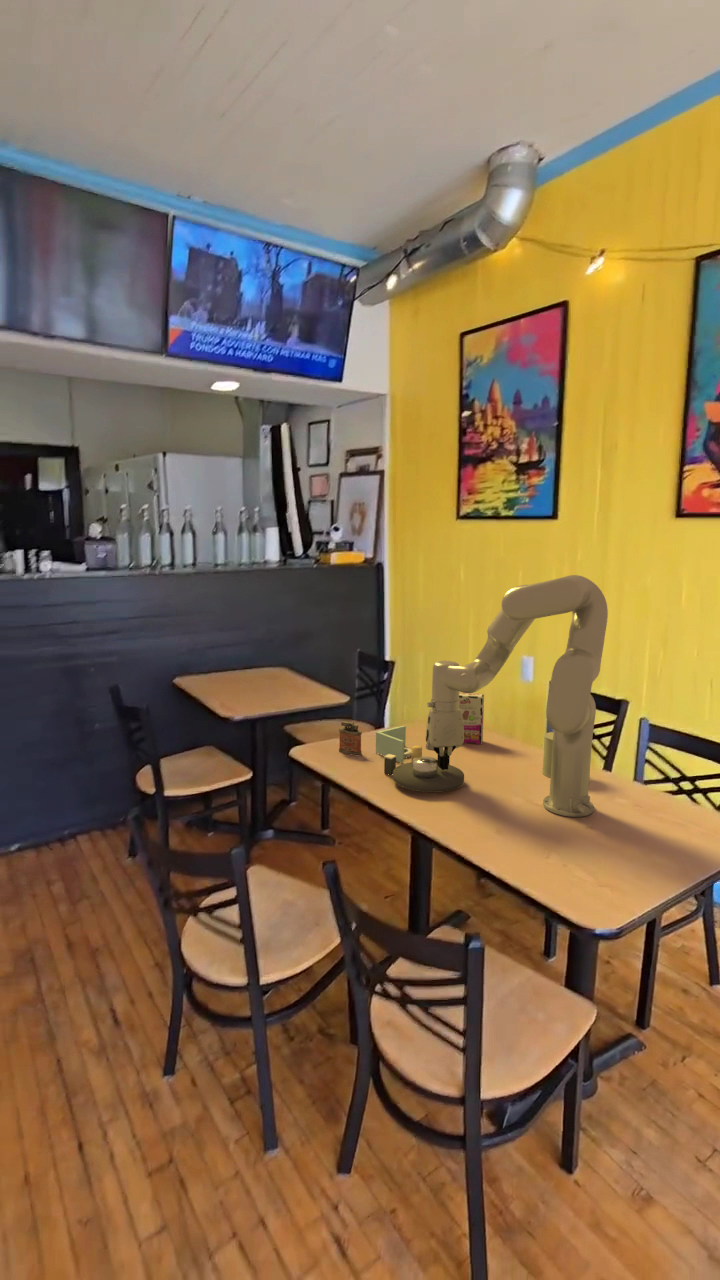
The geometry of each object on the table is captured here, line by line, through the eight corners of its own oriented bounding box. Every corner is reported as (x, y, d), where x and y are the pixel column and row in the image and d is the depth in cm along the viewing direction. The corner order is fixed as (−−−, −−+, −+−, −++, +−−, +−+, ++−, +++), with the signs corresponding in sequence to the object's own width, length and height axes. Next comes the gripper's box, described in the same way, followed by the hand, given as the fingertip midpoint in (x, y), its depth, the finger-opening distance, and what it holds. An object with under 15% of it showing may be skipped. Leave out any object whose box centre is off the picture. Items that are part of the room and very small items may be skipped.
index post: (396, 773, 201) (396, 755, 200) (391, 775, 199) (391, 758, 198) (388, 771, 202) (389, 753, 201) (383, 773, 200) (384, 756, 199)
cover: (441, 777, 190) (442, 762, 189) (419, 780, 187) (419, 765, 187) (430, 768, 196) (430, 754, 195) (408, 771, 194) (408, 757, 193)
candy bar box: (482, 740, 232) (484, 693, 230) (481, 745, 228) (483, 697, 225) (450, 737, 235) (451, 691, 233) (447, 741, 231) (449, 694, 228)
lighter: (363, 753, 218) (363, 723, 216) (357, 756, 215) (358, 725, 214) (342, 749, 222) (342, 719, 221) (336, 751, 219) (336, 721, 218)
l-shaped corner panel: (401, 765, 209) (401, 741, 208) (375, 754, 219) (376, 732, 217) (428, 756, 217) (429, 734, 216) (403, 747, 226) (403, 725, 225)
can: (578, 779, 197) (580, 739, 195) (546, 779, 197) (548, 739, 195) (569, 768, 206) (571, 730, 204) (538, 768, 206) (540, 729, 204)
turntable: (476, 787, 186) (477, 764, 185) (408, 795, 180) (409, 772, 179) (445, 763, 205) (445, 742, 204) (382, 770, 199) (383, 748, 198)
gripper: (426, 710, 185) (424, 775, 188) (475, 706, 189) (473, 770, 192) (415, 703, 192) (413, 766, 195) (463, 700, 196) (461, 761, 199)
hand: (443, 768), depth 194 cm, fingers closed
